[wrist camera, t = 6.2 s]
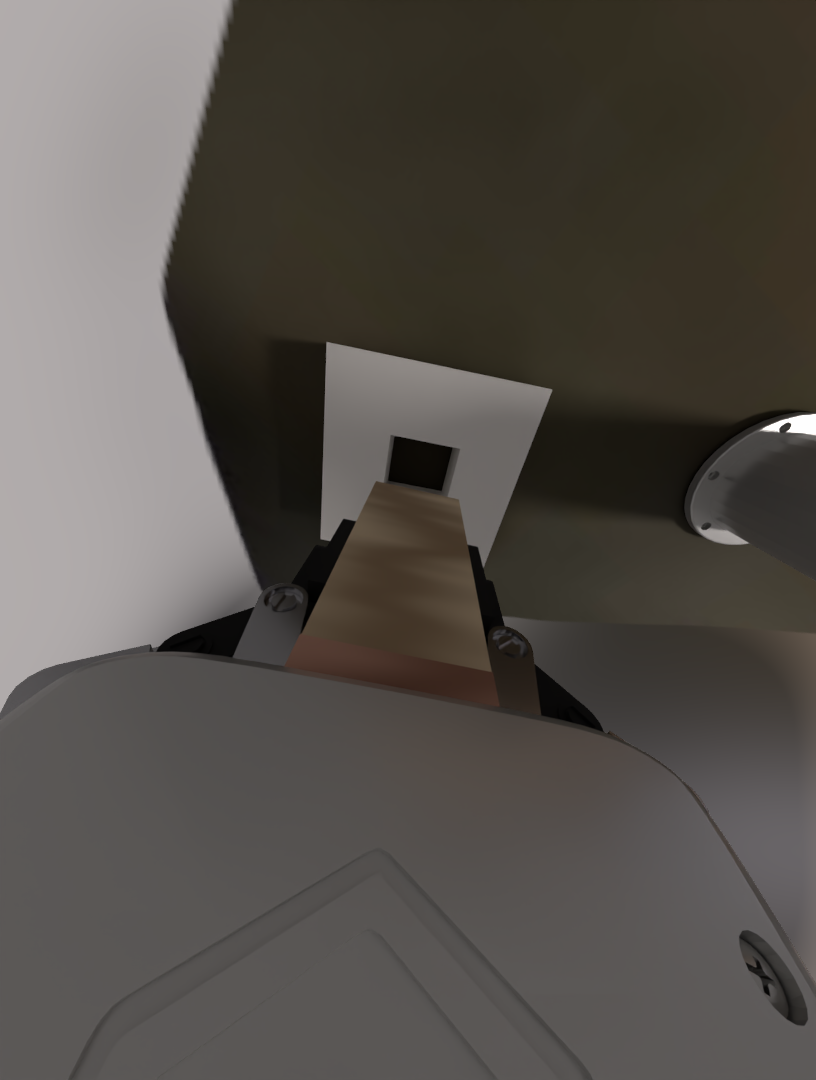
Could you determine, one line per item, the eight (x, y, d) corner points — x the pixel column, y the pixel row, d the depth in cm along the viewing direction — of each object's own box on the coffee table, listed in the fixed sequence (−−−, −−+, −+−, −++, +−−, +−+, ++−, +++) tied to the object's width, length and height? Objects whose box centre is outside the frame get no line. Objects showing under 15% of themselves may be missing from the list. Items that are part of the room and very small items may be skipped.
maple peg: (459, 499, 14) (500, 710, 6) (437, 566, 16) (443, 797, 8) (375, 480, 14) (282, 669, 5) (364, 550, 16) (284, 768, 7)
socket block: (531, 384, 25) (552, 389, 21) (476, 542, 33) (482, 569, 29) (344, 345, 25) (326, 342, 20) (334, 515, 33) (320, 539, 29)
